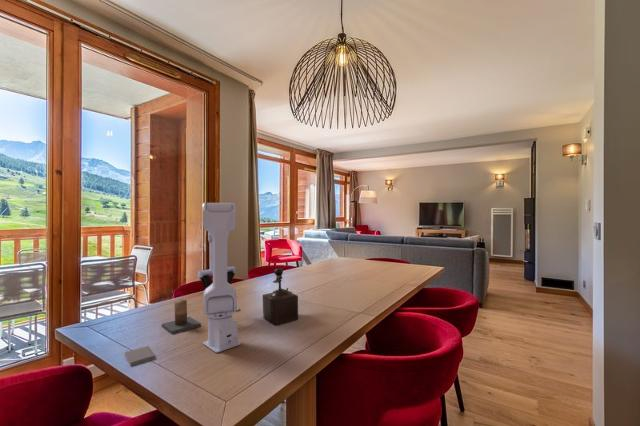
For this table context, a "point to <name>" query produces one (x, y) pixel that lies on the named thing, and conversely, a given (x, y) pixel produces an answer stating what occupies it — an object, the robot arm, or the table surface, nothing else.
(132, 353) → the tile
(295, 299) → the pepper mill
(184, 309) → the peg
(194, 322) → the mat
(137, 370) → the table surface
